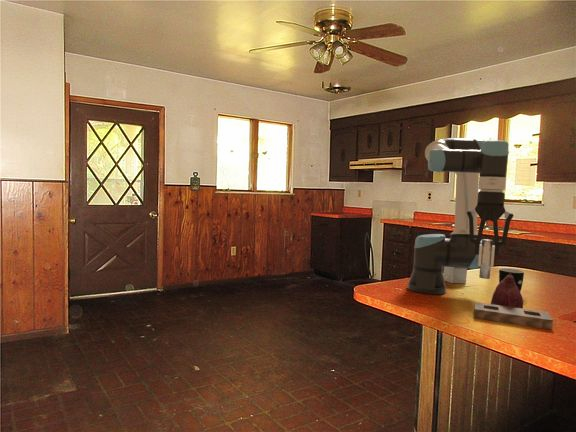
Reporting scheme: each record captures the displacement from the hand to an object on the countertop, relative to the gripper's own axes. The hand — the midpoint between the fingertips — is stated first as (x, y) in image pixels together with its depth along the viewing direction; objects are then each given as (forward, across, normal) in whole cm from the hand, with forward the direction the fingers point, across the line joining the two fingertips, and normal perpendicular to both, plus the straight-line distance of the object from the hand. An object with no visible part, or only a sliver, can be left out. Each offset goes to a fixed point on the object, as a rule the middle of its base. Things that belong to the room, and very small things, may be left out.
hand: (485, 265), depth 132 cm
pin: (+4, 0, 0) cm, 4 cm away
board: (+18, +9, +10) cm, 23 cm away
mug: (+19, +11, +50) cm, 55 cm away
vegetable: (+19, +8, +24) cm, 31 cm away
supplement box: (+19, -11, +61) cm, 65 cm away
